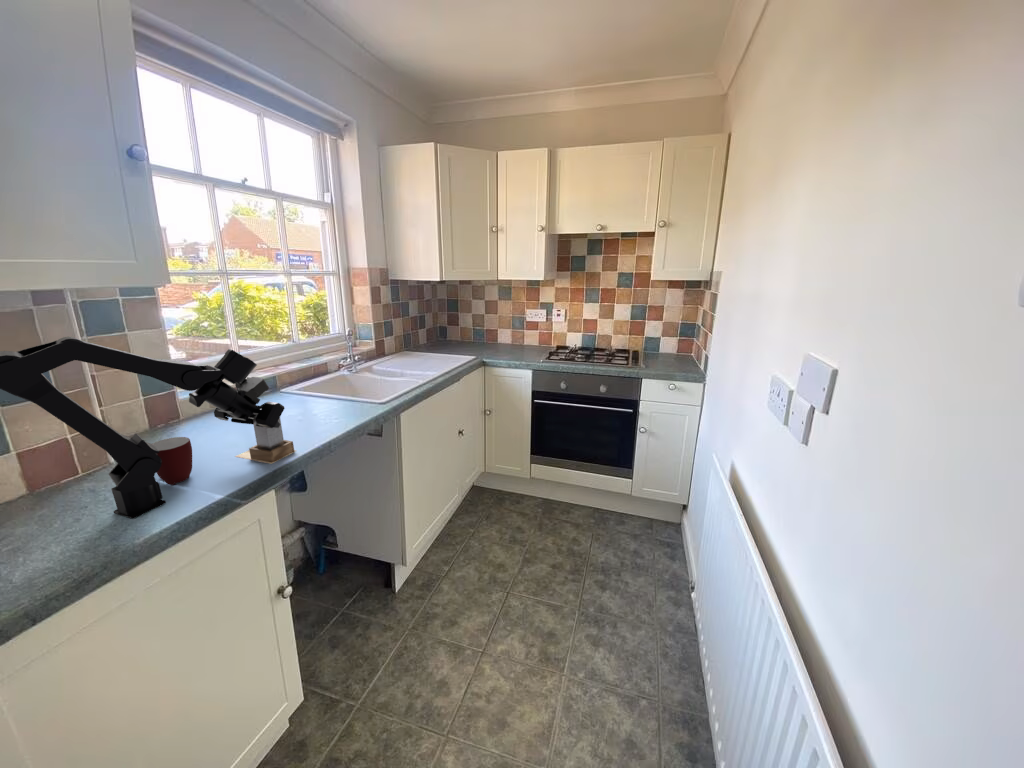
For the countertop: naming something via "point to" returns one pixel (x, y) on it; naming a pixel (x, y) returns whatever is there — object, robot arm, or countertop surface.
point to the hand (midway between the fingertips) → (272, 424)
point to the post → (268, 436)
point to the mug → (174, 459)
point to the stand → (268, 453)
